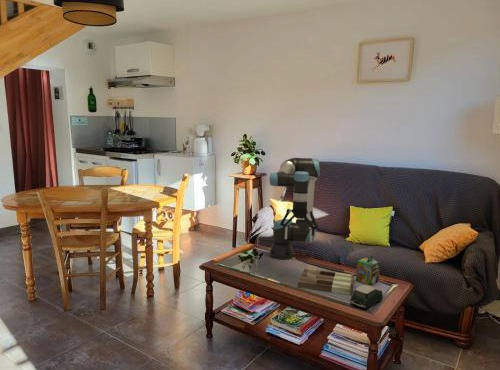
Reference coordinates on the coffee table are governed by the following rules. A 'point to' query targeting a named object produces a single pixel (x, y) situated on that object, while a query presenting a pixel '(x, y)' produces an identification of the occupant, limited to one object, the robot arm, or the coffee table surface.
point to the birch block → (312, 272)
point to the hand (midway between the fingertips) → (298, 240)
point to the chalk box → (368, 270)
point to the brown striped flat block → (328, 282)
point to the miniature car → (366, 296)
